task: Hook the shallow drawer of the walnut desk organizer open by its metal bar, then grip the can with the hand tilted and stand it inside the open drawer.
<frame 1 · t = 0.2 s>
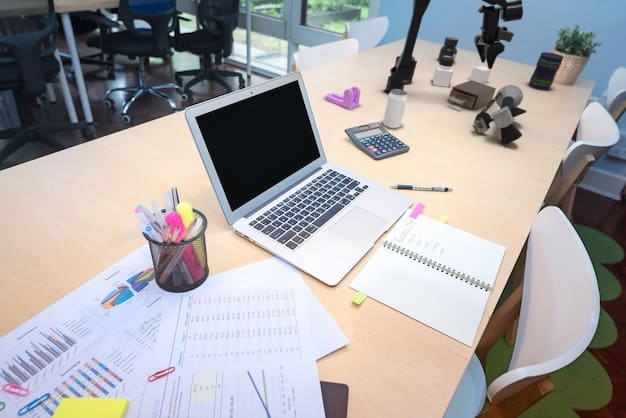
hand: (486, 65, 156), 15 cm above the table, tool pointing down, fingers open, 9 cm apart
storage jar: (538, 87, 191), on the table
white cube: (478, 81, 191), on the table
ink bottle: (445, 61, 214), on the table
drawer: (466, 96, 161), point 3 cm above the table, slide at 1.0 cm
organizer: (470, 101, 166), on the table
pen holder: (401, 81, 180), on the table
medicine bottle: (440, 84, 182), on the table
can: (391, 125, 140), on the table
bracket: (340, 102, 153), on the table
abstract shape sculpture: (496, 128, 145), on the table
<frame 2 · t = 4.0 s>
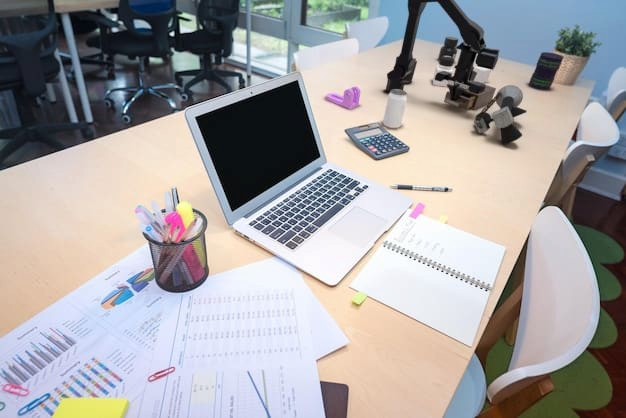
hand: (453, 103, 155), 3 cm above the table, tool pointing down, fingers closed, pressing on drawer
drawer: (462, 98, 159), point 3 cm above the table, slide at 4.3 cm, touching gripper
everything else where it was.
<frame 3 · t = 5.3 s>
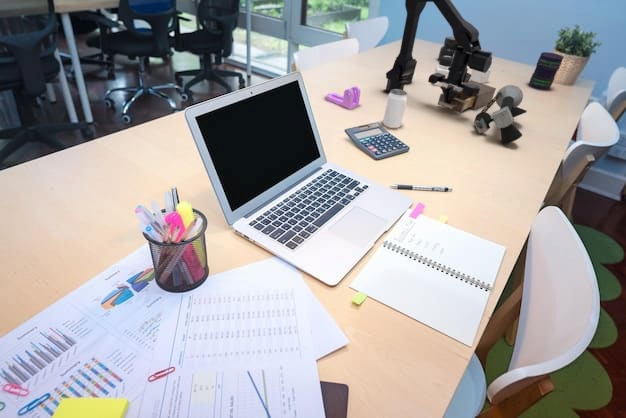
hand: (447, 105, 152), 3 cm above the table, tool pointing down, fingers closed
drawer: (456, 100, 156), point 3 cm above the table, slide at 9.0 cm
everything else where it was.
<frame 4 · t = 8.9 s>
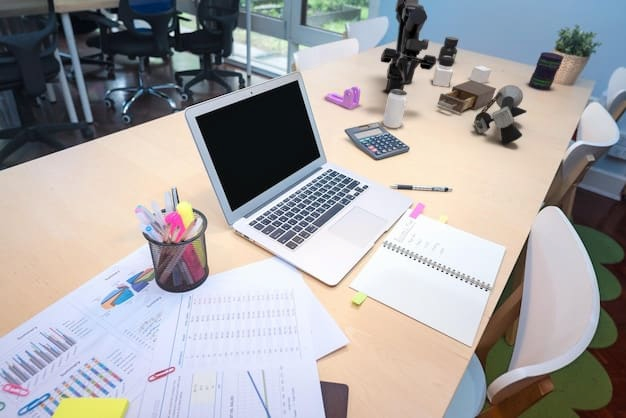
hand: (405, 82, 138), 13 cm above the table, tool tilted 40°, fingers closed
nothing on the table moved.
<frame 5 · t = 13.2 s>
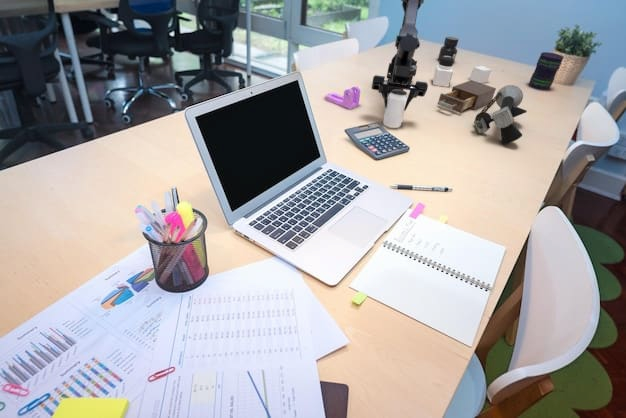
hand: (395, 108, 135), 7 cm above the table, tool tilted 45°, fingers closed on can, 6 cm apart
can: (391, 125, 140), on the table, touching gripper
everything else where it was.
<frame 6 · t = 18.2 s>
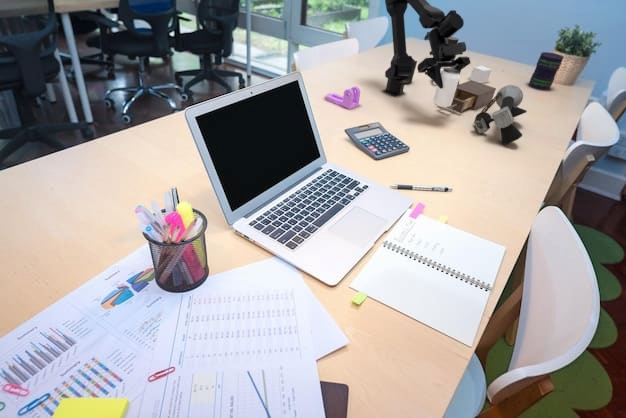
hand: (449, 87, 136), 14 cm above the table, tool tilted 45°, fingers closed on can, 6 cm apart
can: (441, 104, 141), point 7 cm above the table, touching gripper
everything else where it was.
when the fingers open (9 cm above the table, at t = 23.4 s): can stays where it is, resting on drawer.
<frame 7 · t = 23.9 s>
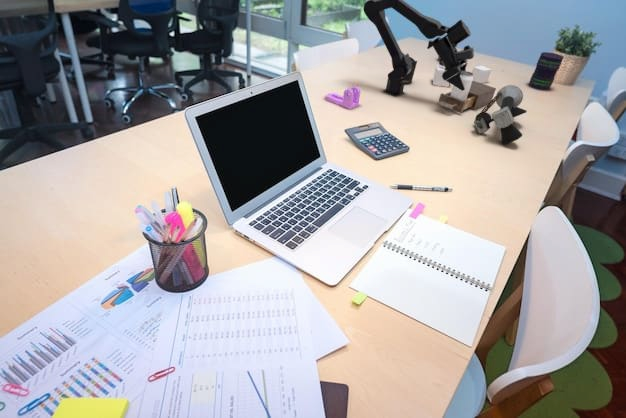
hand: (465, 86, 153), 9 cm above the table, tool tilted 45°, fingers open, 9 cm apart
drawer: (456, 100, 156), point 3 cm above the table, slide at 8.9 cm, touching can
can: (456, 103, 157), point 2 cm above the table, touching drawer
everything else where it was.
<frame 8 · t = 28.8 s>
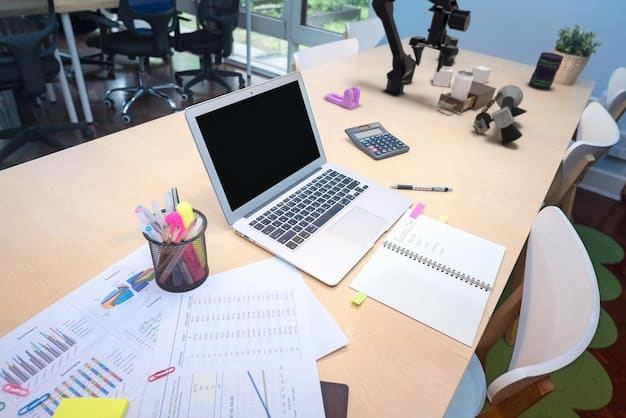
hand: (427, 68, 154), 13 cm above the table, tool pointing down, fingers open, 9 cm apart
nothing on the table moved.
at the end: drawer slide at 8.9 cm; can inside the target area in the drawer (0.1 cm from its centre), point 1.8 cm above the organizer's base; can tilted 0° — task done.
